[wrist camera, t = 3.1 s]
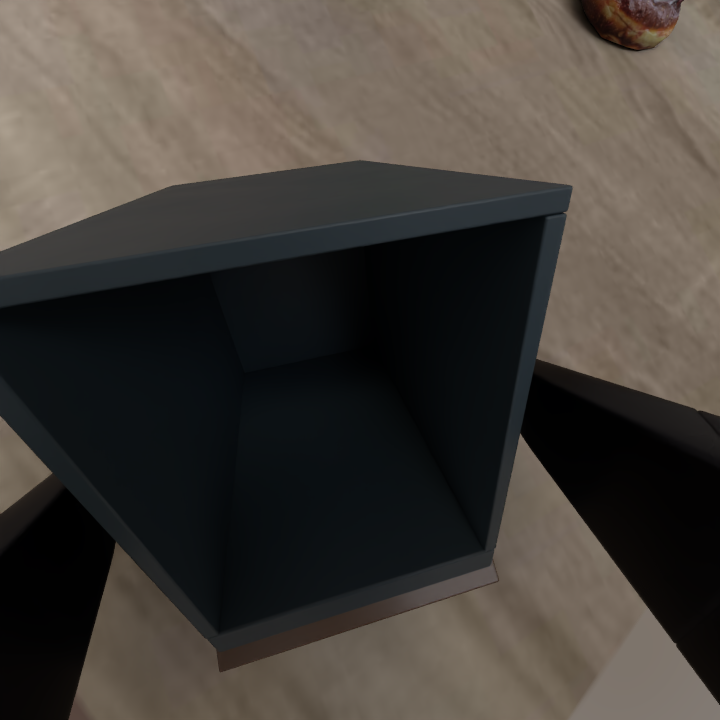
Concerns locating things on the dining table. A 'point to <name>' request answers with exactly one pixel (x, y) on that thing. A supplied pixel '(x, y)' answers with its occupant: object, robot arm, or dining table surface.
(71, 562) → the robot arm
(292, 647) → the metal block
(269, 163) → the dining table surface
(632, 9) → the pastry
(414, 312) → the bin
